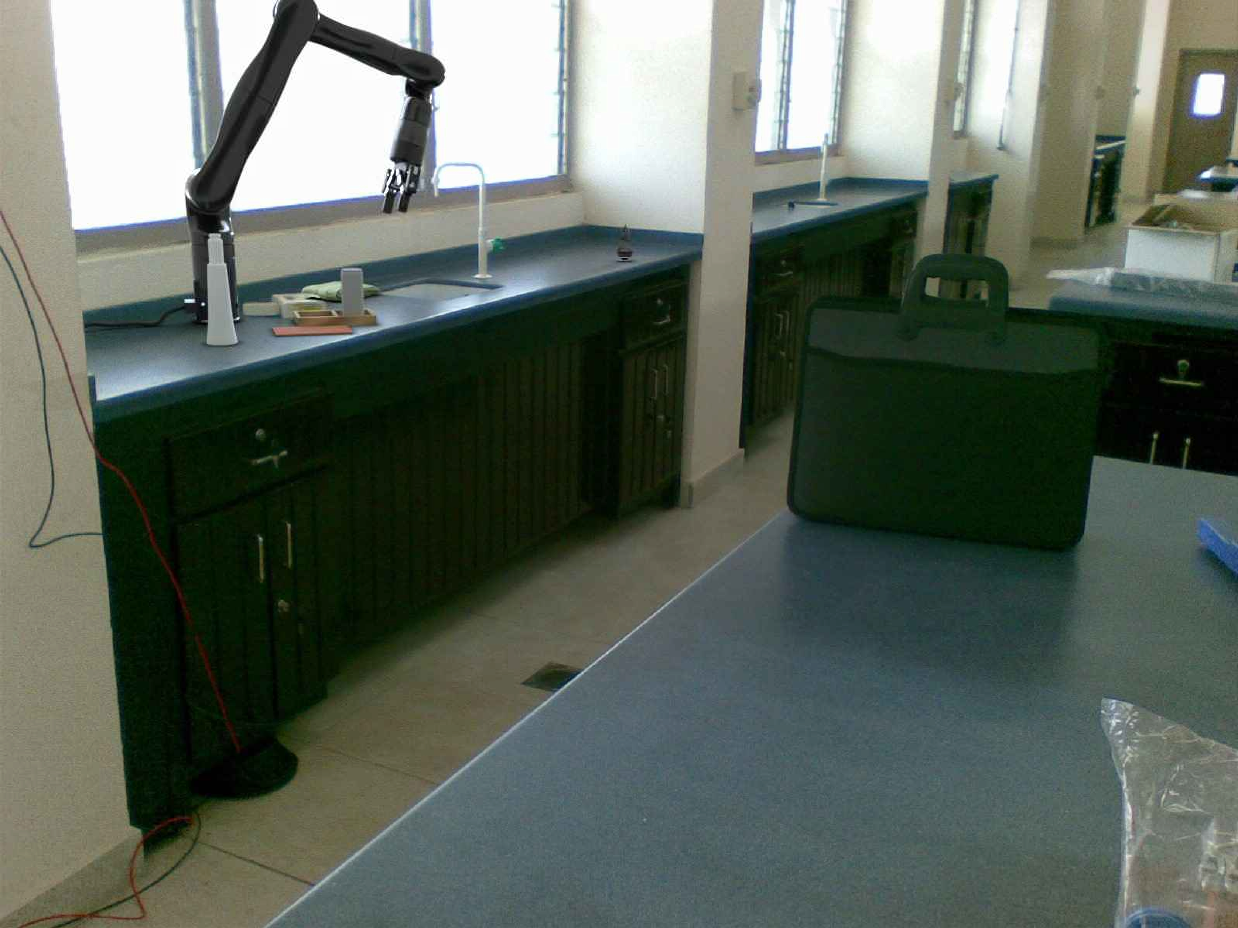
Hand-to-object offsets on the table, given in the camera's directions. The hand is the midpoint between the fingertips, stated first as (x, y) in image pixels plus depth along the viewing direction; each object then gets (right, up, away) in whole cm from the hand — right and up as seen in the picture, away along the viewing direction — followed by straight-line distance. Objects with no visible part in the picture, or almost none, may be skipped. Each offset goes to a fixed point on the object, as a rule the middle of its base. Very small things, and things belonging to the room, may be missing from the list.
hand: (393, 212), depth 276 cm
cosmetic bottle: (-29, -33, -31) cm, 54 cm away
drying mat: (-15, -29, -16) cm, 36 cm away
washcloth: (-20, -15, +32) cm, 41 cm away
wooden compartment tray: (-12, -26, -5) cm, 29 cm away
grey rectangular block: (-8, -26, -4) cm, 27 cm away
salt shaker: (+54, +9, +121) cm, 133 cm away
